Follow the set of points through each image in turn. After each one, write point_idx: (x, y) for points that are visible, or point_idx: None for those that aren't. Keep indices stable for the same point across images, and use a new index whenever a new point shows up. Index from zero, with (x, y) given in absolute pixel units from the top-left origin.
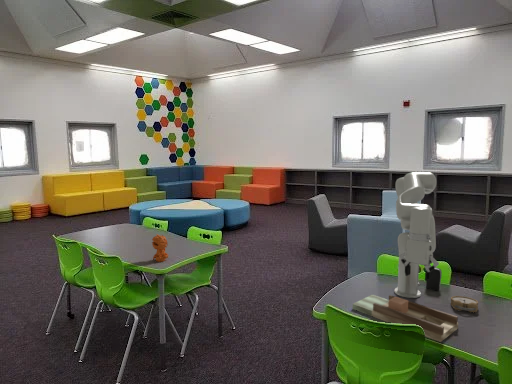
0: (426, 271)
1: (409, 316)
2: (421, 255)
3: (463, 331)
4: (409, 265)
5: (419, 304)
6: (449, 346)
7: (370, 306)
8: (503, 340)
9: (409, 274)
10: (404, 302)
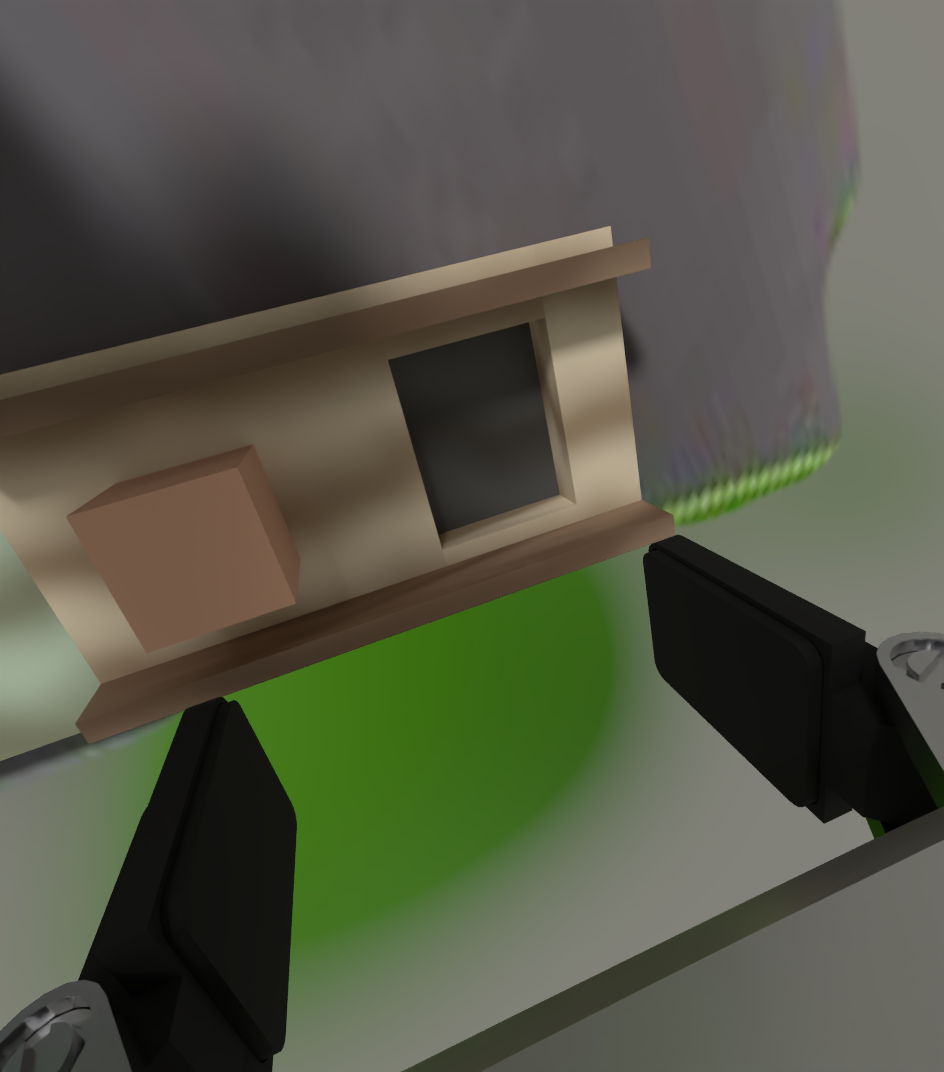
0: (834, 798)
1: (442, 617)
2: None
3: None
4: (181, 995)
5: (282, 332)
6: None
7: (22, 683)
8: (834, 117)
9: (250, 731)
10: (267, 545)
